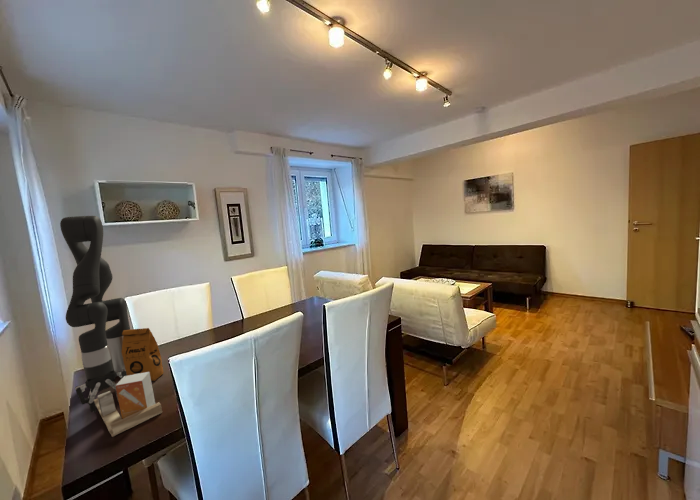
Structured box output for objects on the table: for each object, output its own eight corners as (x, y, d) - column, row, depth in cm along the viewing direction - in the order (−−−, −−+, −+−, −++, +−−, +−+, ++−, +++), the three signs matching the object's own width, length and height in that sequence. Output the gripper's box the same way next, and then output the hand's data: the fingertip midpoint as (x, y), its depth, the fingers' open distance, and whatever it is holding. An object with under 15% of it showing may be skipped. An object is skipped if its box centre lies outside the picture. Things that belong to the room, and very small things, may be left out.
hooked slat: (94, 402, 115) (90, 385, 114) (137, 384, 125) (134, 368, 125) (112, 437, 95) (107, 416, 94) (162, 412, 105) (158, 393, 104)
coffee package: (153, 384, 125) (143, 332, 122) (124, 386, 126) (113, 334, 123) (168, 371, 135) (159, 323, 132) (141, 373, 136) (132, 325, 133)
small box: (122, 421, 103) (114, 385, 101) (130, 410, 109) (123, 375, 107) (149, 416, 104) (142, 380, 102) (156, 404, 110) (149, 370, 109)
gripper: (120, 349, 112) (129, 392, 115) (67, 367, 102) (78, 413, 104) (125, 354, 107) (134, 399, 110) (70, 373, 97) (82, 422, 99)
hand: (107, 406), depth 107 cm, fingers open, 6 cm apart
